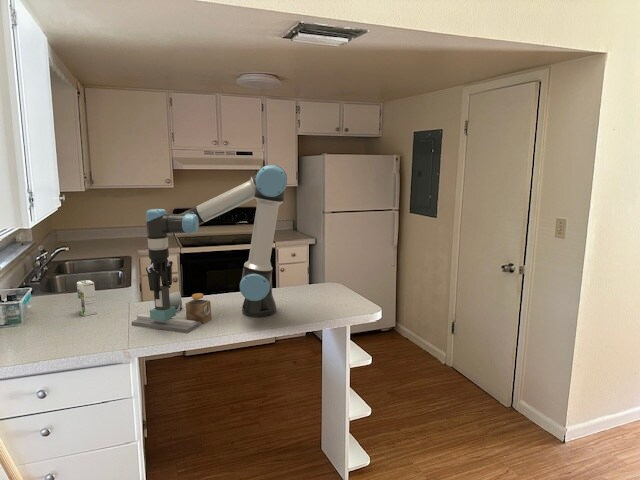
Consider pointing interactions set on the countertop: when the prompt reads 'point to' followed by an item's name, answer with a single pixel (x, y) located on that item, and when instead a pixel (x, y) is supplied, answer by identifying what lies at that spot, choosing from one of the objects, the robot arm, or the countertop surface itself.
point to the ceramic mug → (175, 300)
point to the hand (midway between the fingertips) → (162, 304)
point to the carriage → (166, 310)
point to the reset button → (197, 296)
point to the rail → (166, 324)
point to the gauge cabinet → (198, 310)
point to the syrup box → (86, 297)
